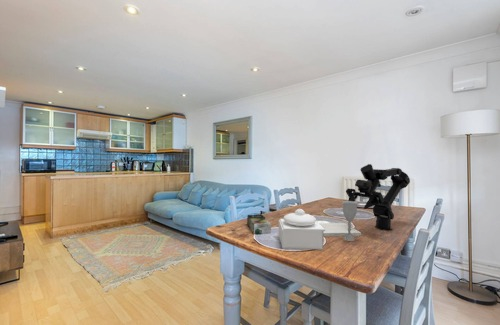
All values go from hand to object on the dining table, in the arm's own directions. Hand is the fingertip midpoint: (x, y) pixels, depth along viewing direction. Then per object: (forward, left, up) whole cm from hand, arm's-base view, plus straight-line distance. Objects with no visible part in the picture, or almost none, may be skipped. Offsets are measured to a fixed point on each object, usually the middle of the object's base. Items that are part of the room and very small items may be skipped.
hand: (356, 206), depth 118 cm
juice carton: (+49, -14, -15) cm, 53 cm away
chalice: (+6, +5, -15) cm, 17 cm away
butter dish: (+32, +8, -15) cm, 36 cm away
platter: (+7, -9, -15) cm, 19 cm away
